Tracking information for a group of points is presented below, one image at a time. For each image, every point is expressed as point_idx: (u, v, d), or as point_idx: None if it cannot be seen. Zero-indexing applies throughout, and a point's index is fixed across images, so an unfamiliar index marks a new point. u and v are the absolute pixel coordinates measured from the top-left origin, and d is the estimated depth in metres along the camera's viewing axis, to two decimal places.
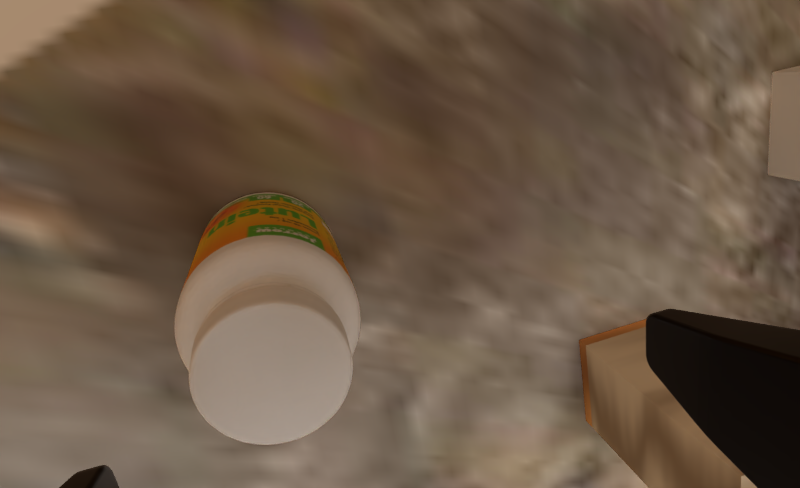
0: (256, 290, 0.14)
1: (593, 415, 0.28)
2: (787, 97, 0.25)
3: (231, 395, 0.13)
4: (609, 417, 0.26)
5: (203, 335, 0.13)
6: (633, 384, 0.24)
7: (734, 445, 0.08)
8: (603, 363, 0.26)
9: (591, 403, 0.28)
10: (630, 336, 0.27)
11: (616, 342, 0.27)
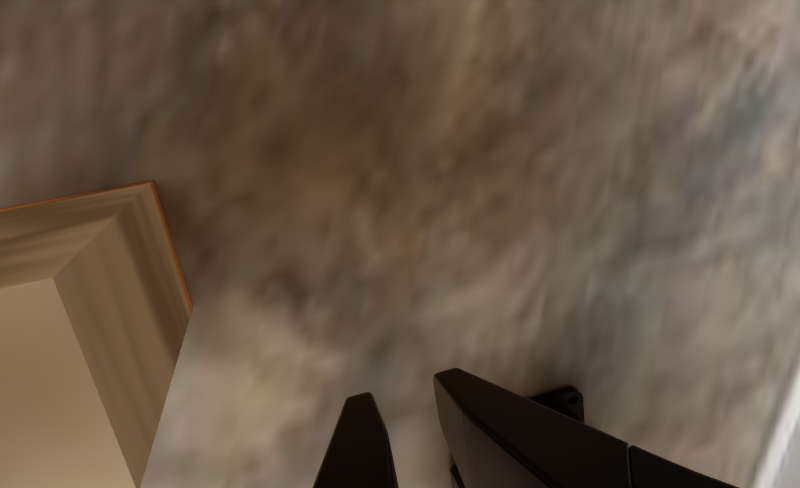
0: None
1: None
2: None
3: None
4: None
5: None
6: None
7: None
8: None
9: None
10: None
11: None
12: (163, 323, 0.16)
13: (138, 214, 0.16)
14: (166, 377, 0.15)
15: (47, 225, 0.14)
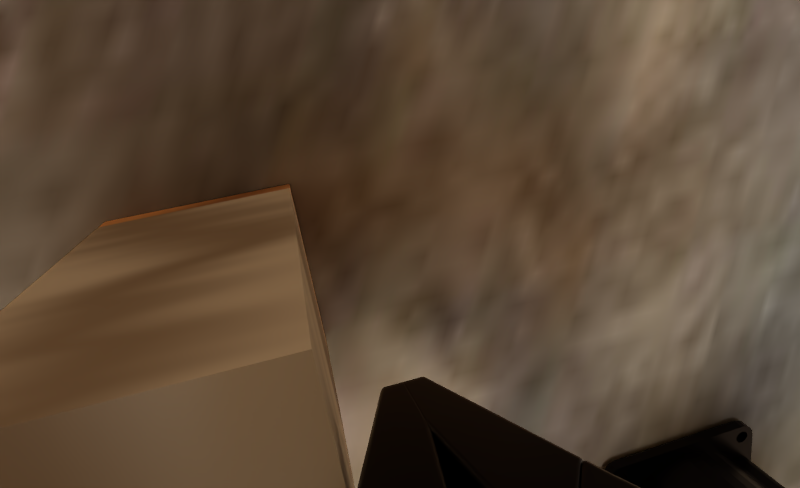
0: None
1: None
2: None
3: None
4: None
5: None
6: None
7: None
8: None
9: None
10: None
11: None
12: (330, 372, 0.12)
13: (297, 229, 0.13)
14: (346, 446, 0.12)
15: (201, 247, 0.11)
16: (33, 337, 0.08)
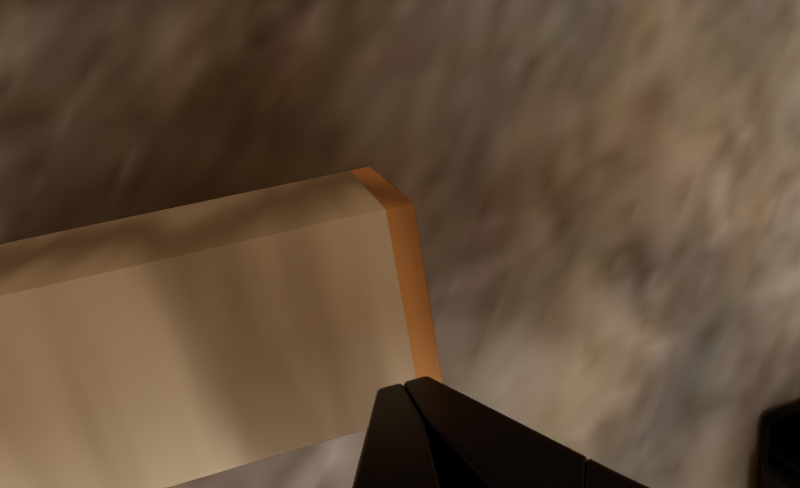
0: None
1: None
2: None
3: None
4: None
5: None
6: None
7: None
8: None
9: None
10: None
11: None
12: (242, 407, 0.12)
13: (262, 260, 0.11)
14: (195, 467, 0.12)
15: (189, 230, 0.12)
16: (82, 235, 0.14)
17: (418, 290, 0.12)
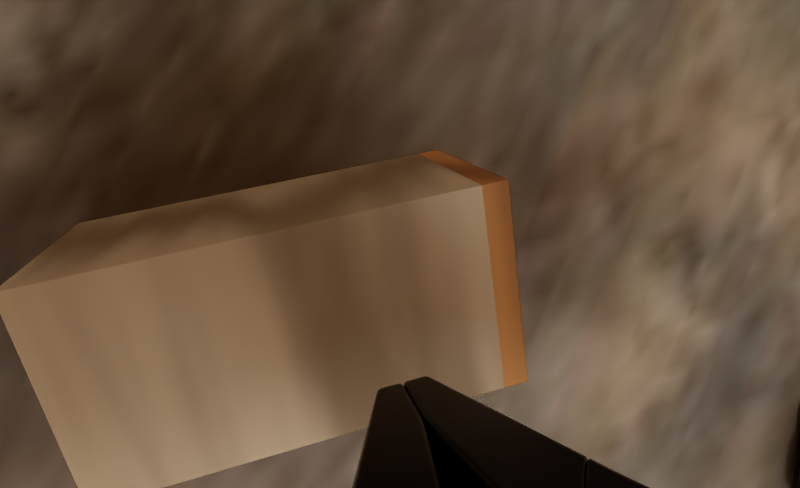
0: None
1: None
2: None
3: None
4: None
5: None
6: None
7: None
8: None
9: None
10: None
11: None
12: (335, 381, 0.12)
13: (364, 234, 0.11)
14: (289, 439, 0.12)
15: (280, 207, 0.12)
16: (165, 213, 0.14)
17: (508, 266, 0.12)
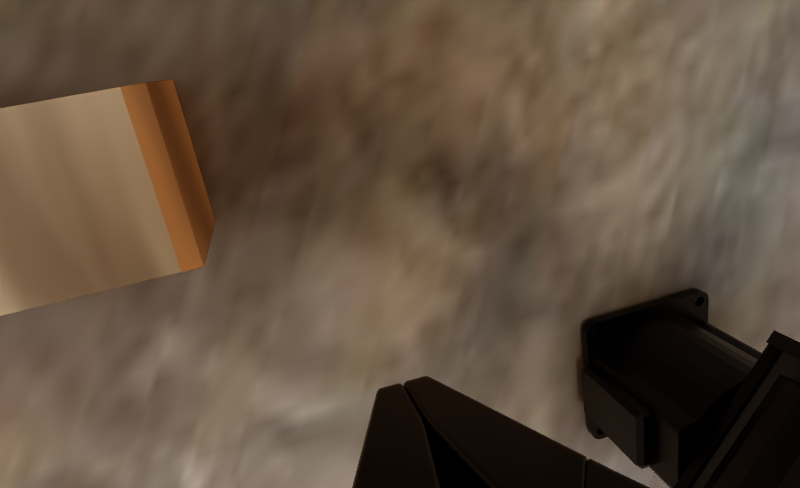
0: None
1: None
2: None
3: None
4: None
5: None
6: None
7: None
8: None
9: None
10: None
11: None
12: (10, 259, 0.14)
13: (11, 127, 0.13)
14: None
15: None
16: None
17: (161, 160, 0.14)
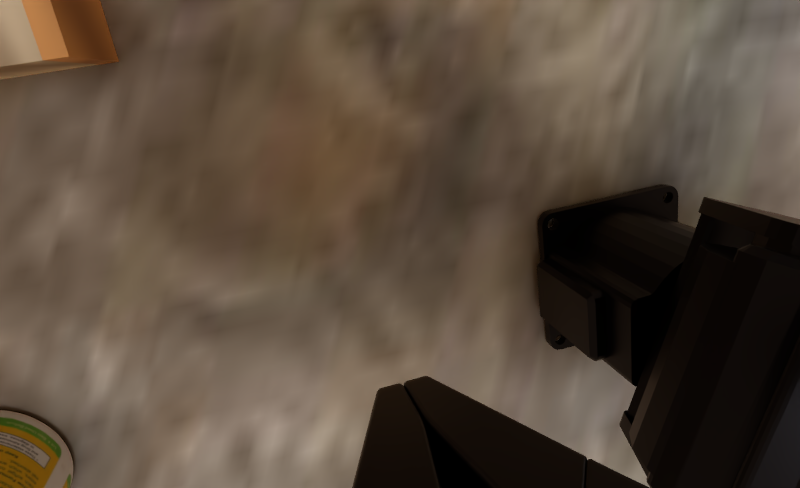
0: None
1: (47, 62, 0.14)
2: None
3: None
4: (0, 72, 0.15)
5: None
6: None
7: None
8: (49, 71, 0.17)
9: (60, 62, 0.15)
10: None
11: None
12: None
13: None
14: None
15: None
16: None
17: None
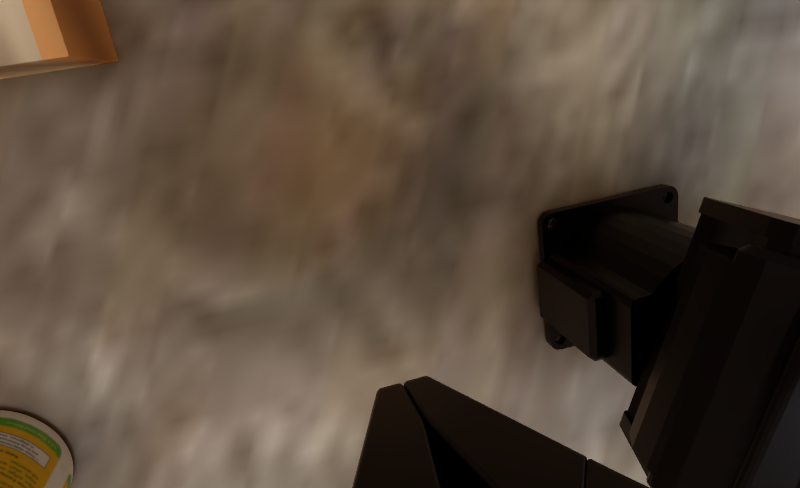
0: None
1: (47, 62, 0.14)
2: None
3: None
4: (0, 71, 0.15)
5: None
6: None
7: None
8: (48, 71, 0.17)
9: (60, 62, 0.15)
10: None
11: None
12: None
13: None
14: None
15: None
16: None
17: None
